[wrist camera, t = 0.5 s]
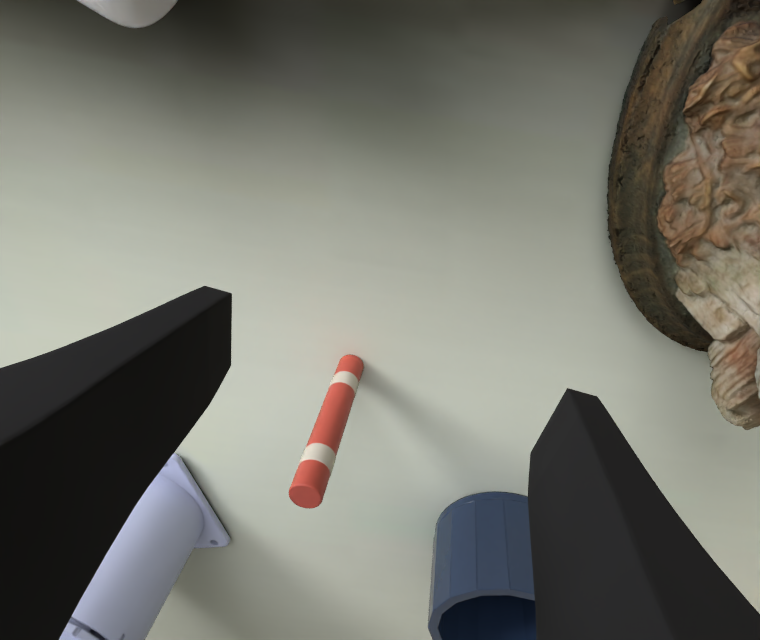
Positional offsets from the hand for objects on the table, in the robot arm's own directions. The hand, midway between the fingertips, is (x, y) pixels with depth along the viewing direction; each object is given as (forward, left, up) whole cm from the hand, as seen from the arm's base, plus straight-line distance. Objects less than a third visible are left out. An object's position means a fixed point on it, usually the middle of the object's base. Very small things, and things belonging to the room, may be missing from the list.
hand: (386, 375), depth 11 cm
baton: (-5, -6, -11) cm, 13 cm away
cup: (0, -19, -11) cm, 22 cm away
